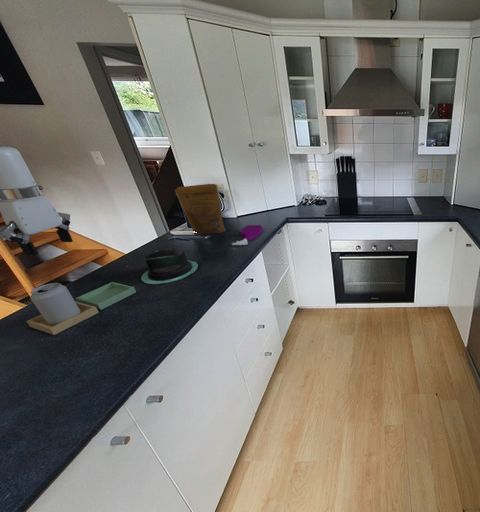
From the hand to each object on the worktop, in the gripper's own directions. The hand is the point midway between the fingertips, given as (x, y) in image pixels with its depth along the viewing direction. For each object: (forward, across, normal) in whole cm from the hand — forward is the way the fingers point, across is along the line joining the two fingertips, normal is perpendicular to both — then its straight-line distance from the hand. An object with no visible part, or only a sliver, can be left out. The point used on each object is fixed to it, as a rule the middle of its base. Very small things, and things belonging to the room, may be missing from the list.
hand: (51, 247), depth 85 cm
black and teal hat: (+22, -25, +12) cm, 36 cm away
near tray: (+22, +7, +1) cm, 24 cm away
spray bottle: (+22, -65, +27) cm, 74 cm away
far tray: (+22, -5, +4) cm, 23 cm away
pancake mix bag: (+22, -70, +2) cm, 73 cm away
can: (+22, +7, +1) cm, 23 cm away
